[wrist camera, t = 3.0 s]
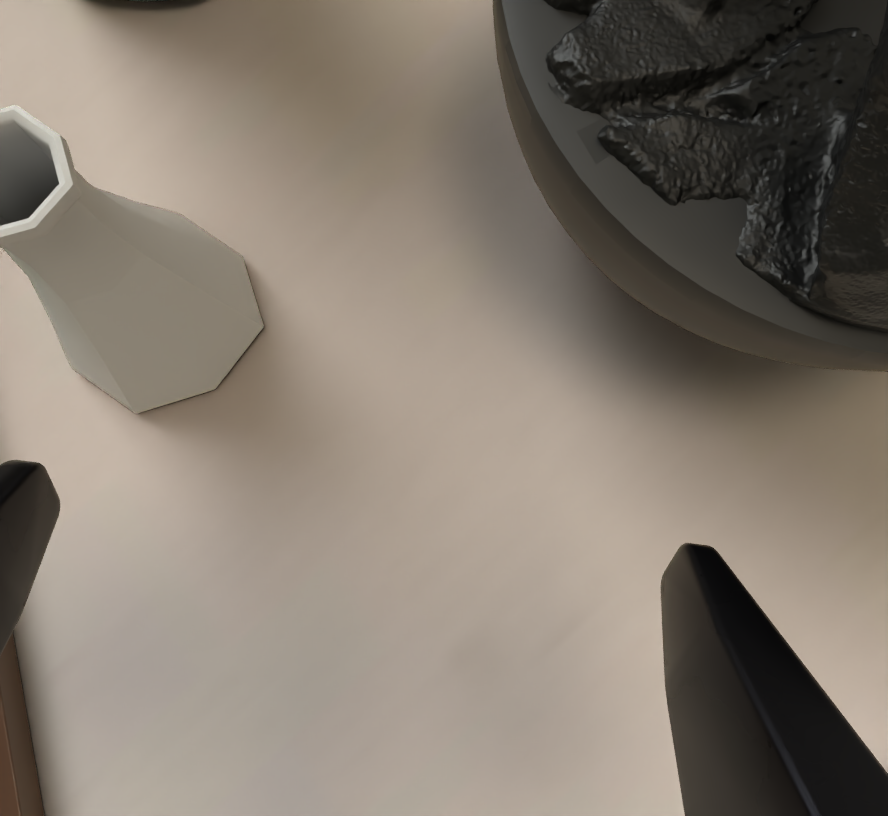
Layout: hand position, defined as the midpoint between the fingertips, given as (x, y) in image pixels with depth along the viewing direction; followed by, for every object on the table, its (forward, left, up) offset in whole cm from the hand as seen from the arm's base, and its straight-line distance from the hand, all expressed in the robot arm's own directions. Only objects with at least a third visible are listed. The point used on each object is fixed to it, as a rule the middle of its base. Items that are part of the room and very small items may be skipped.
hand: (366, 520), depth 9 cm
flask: (-6, +10, -15) cm, 19 cm away
